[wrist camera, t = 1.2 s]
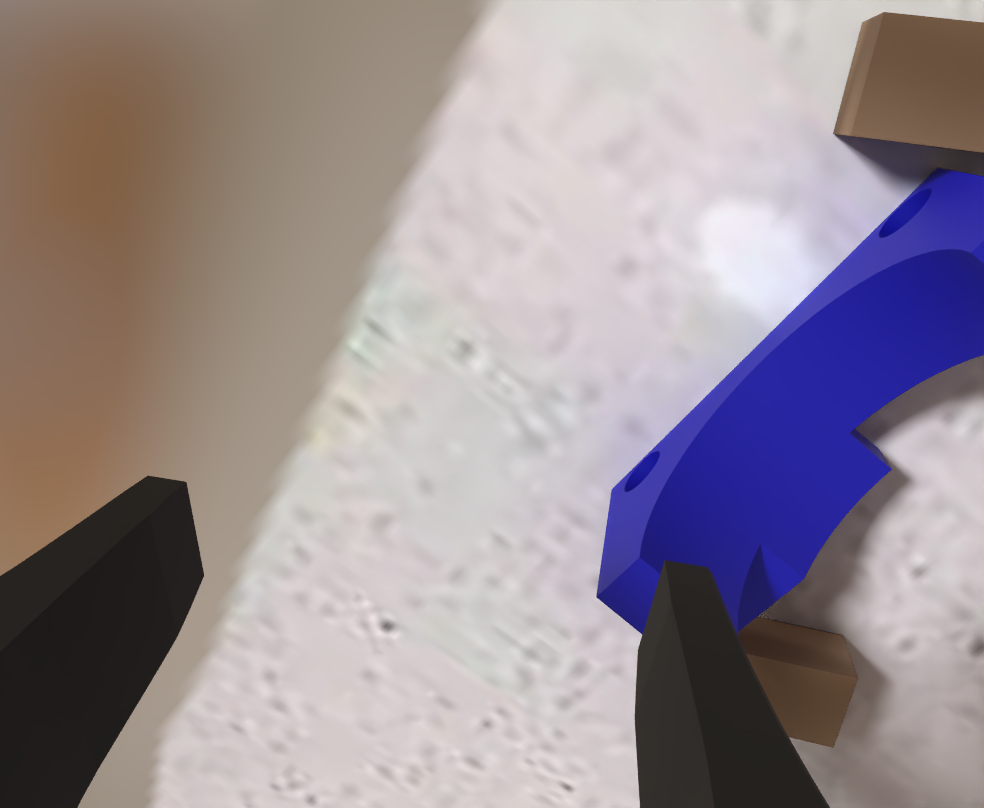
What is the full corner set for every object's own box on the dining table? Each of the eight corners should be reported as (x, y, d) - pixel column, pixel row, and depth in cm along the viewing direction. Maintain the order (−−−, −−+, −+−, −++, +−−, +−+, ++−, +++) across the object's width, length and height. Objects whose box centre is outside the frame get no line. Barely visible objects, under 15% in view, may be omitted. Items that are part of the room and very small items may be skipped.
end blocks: (821, 700, 25) (833, 747, 23) (692, 671, 26) (694, 714, 24) (1044, 42, 18) (1087, 34, 16) (862, 22, 19) (883, 12, 17)
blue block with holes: (723, 579, 24) (740, 714, 19) (612, 487, 24) (596, 596, 19) (1067, 285, 20) (1223, 350, 14) (935, 167, 20) (1041, 187, 14)
